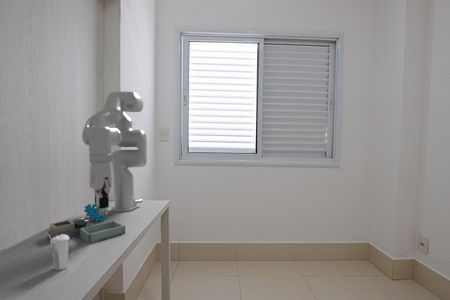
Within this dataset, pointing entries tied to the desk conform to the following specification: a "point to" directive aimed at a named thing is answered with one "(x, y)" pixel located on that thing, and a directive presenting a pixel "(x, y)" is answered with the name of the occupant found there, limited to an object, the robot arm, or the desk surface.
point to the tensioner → (68, 227)
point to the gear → (93, 213)
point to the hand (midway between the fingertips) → (101, 206)
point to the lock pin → (99, 211)
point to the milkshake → (60, 251)
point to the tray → (102, 231)
